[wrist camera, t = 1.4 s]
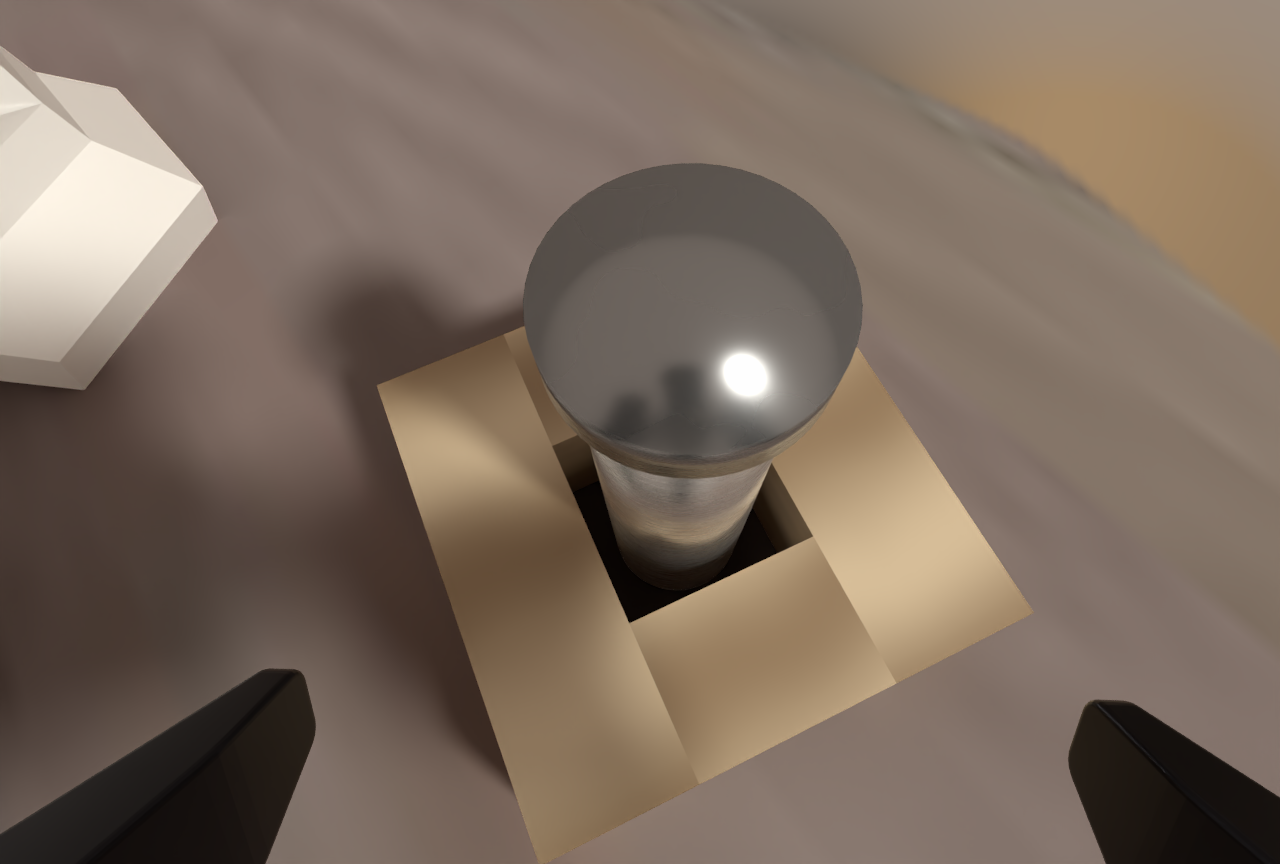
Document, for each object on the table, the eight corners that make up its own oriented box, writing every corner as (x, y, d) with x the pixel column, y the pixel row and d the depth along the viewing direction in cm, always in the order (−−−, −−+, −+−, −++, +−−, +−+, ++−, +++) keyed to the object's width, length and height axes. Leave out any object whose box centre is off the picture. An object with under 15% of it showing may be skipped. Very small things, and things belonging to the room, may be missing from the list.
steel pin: (776, 565, 20) (930, 365, 8) (639, 630, 19) (602, 511, 8) (708, 439, 22) (760, 123, 10) (580, 495, 21) (477, 230, 9)
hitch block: (961, 631, 19) (1033, 612, 15) (566, 833, 18) (539, 865, 14) (758, 302, 23) (775, 225, 20) (425, 440, 22) (376, 385, 18)
